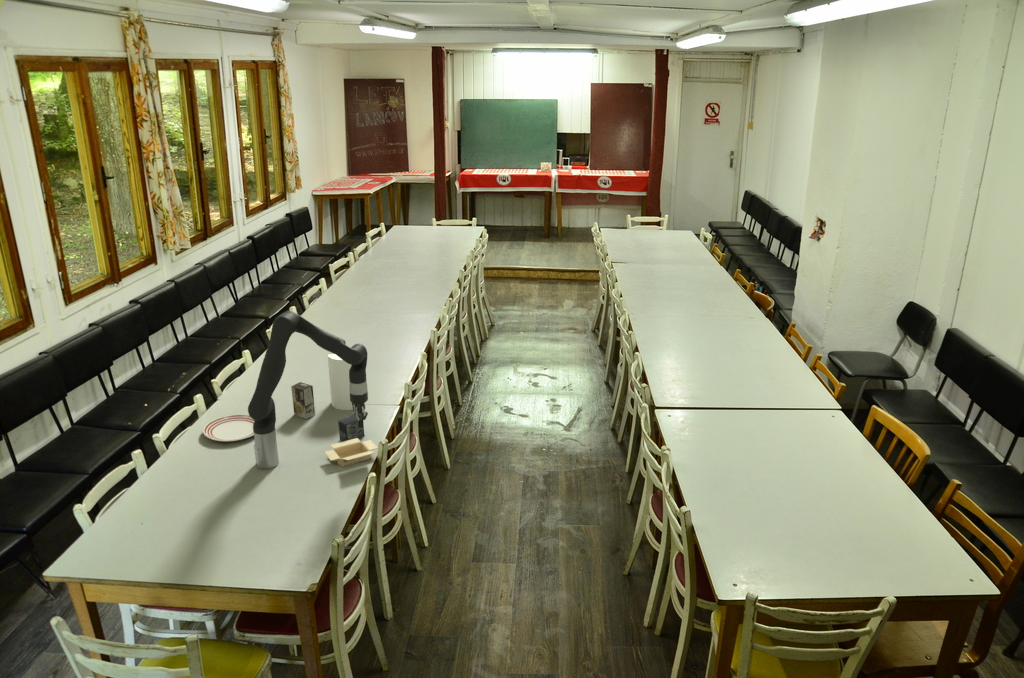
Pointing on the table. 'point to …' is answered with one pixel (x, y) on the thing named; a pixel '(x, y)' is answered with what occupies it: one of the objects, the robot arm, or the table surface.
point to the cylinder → (339, 382)
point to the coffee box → (303, 400)
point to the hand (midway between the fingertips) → (360, 426)
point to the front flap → (358, 455)
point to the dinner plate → (230, 428)
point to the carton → (350, 451)
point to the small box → (350, 428)
